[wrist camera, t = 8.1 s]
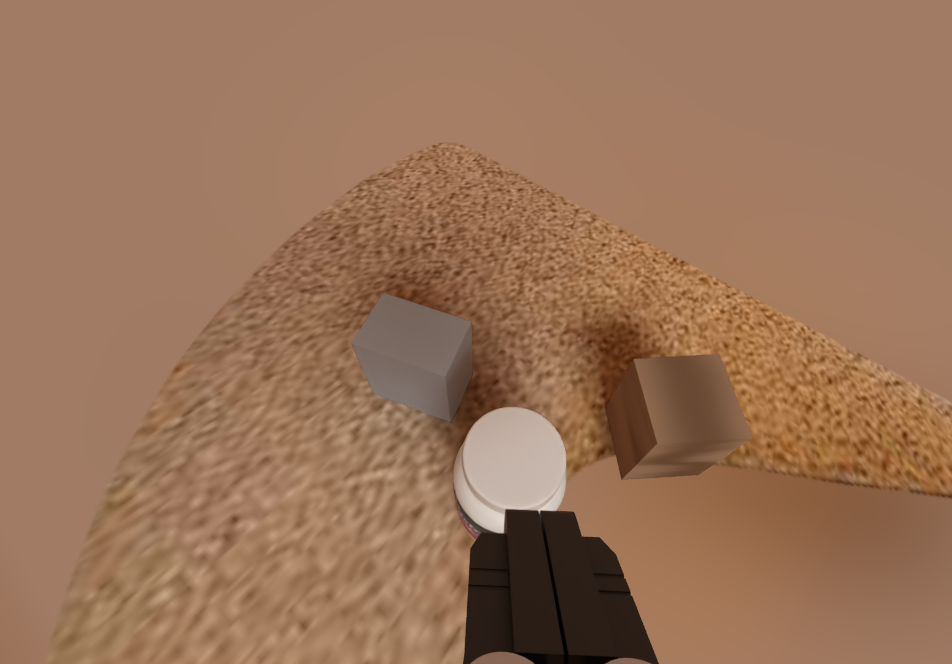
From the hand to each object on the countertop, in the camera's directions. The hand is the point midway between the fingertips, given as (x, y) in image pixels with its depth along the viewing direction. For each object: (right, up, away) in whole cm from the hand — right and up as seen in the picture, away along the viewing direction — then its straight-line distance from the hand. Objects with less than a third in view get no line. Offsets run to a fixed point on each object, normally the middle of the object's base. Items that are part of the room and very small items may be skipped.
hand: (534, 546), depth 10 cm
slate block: (-5, +1, +23) cm, 24 cm away
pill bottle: (0, -6, +19) cm, 20 cm away
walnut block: (+10, -3, +21) cm, 23 cm away
